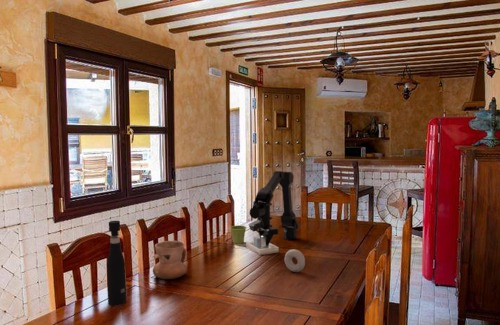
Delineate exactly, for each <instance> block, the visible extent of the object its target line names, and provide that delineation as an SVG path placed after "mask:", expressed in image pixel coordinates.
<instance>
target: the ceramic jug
mask: <svg viewBox="0 0 500 325" xmlns="http://www.w3.org/2000/svg"><path fill="white" fill-rule="evenodd" d="M154 248H155V252H156V253H155V254H154V255H153V256H152V257H153V259H158V260H159V262H157V263H156V264H155V265H154V266H153V268H152V274H153V275H154V276H155V277H156V278H159V279H161V280H174V279H177V278H181V277H183V276H184V275H185V274H186V273H187V272H188V271H187V270H188V268H187V267H188V266H187V265H186V264H185V263H184V262H185V260H186V258H187V250H186V249H187V248H185V243H184V242H182V241H179V240H164V241H160V242H158V243H156V244H155V245H154Z"/></svg>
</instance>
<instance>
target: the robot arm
mask: <svg viewBox="0 0 500 325" xmlns="http://www.w3.org/2000/svg"><path fill="white" fill-rule="evenodd" d="M294 176H295V175H294V174H293V173H292V171H283V170H275V171H273V174H272V176H271V177H270V179H269V180H268V182H267V183H266V184H265V186H263V187H262V188H260V189H259V190H258V192H257V193H256V196H255V198H254V202H253V205H252V207H251V208H250V209H249V216H250V217H251V219H254V220H253V221H252V222H250V223H249V224H248V227H249V230H250V231H252V232H256V233H258V234H259V235H258V236H260V238H261V235H264V236H265V243H266V246H268V245H269V243H270V242H271V241H272V238H273V237H274V235H279V231H280V230H279V229H278V228H277V227H273V225H272V224H271V220H273V217H272V216H271V206H272V205H273V204H272V200H273V197H274V192H275V190H276V189H277V187H278V185H279V186H280V187H281V191H282V203H283V213H282V214H281V215H280V223H281V228H282V229H284V230H283V237H282V238H283V239H286V240H287V241H291V240H298V239H299V238H298V237H297V230H298V229H299V227H300V224H299V222H298V220H297V216H296V214H295V212H294V211H293V203H292V202H293V201H292V200H293V199H292V188H291V186H292V185H293V183H294V179H295V178H294ZM255 219H256V220H255Z"/></svg>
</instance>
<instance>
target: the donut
mask: <svg viewBox="0 0 500 325" xmlns="http://www.w3.org/2000/svg"><path fill="white" fill-rule="evenodd" d="M293 258H295V259H296V261H297V263H294V262H293ZM284 264H285V267H287V269H288V270H289V271H291V272H294V273H298V272H301V271H302V270H304V268H305V265H306V258H305V255H304V254H303V253H302V252H301V251H300V250H298V249H294V248H293V249H289V250H288V251H287V252H286V253H285V255H284Z"/></svg>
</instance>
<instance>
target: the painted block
mask: <svg viewBox="0 0 500 325" xmlns="http://www.w3.org/2000/svg"><path fill="white" fill-rule="evenodd" d="M253 242H254V246H255V247H257V248H260V247H261V238H260V235H258V236H253Z"/></svg>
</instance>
